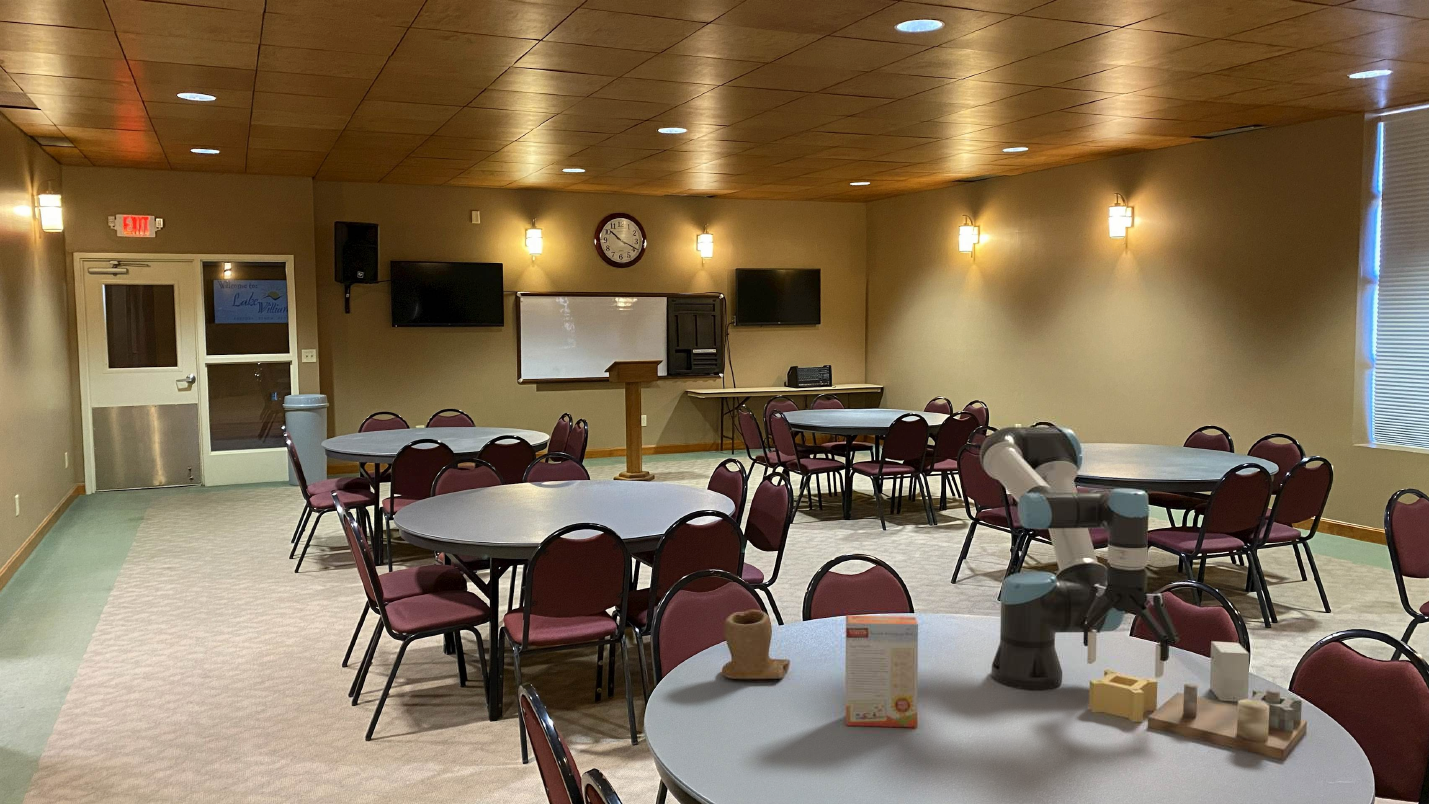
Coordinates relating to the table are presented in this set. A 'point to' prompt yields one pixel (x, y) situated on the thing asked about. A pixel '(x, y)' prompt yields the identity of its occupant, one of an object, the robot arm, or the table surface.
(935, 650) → the table surface
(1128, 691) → the tan notched block
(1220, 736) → the board
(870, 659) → the cracker box
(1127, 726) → the table surface
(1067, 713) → the table surface
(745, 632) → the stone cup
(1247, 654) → the small box
